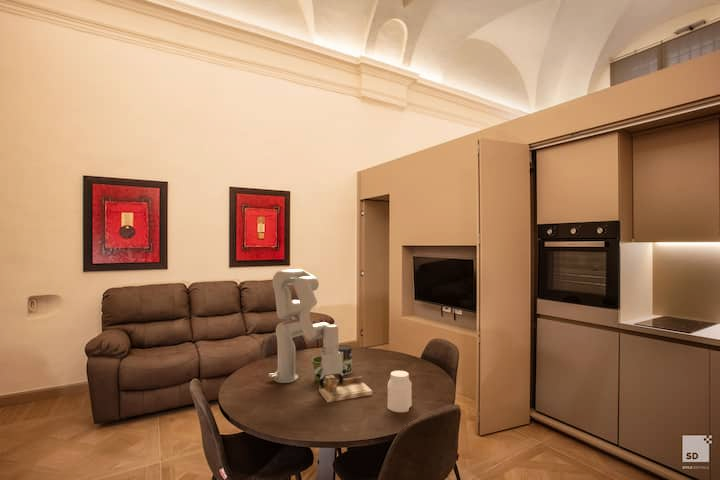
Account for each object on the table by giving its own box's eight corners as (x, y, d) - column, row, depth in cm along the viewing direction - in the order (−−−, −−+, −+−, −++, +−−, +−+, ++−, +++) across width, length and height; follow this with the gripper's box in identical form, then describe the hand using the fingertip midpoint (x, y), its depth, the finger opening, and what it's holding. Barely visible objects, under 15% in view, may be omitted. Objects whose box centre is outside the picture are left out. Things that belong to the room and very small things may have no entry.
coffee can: (352, 368, 219) (352, 344, 219) (351, 374, 209) (351, 349, 209) (335, 368, 219) (335, 344, 220) (333, 374, 209) (333, 349, 209)
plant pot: (307, 381, 199) (307, 360, 199) (319, 374, 209) (319, 354, 209) (325, 385, 193) (325, 363, 193) (337, 378, 204) (337, 357, 204)
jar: (393, 400, 174) (393, 368, 175) (413, 403, 171) (412, 370, 171) (385, 410, 164) (385, 376, 164) (406, 413, 160) (406, 379, 160)
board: (327, 402, 172) (327, 392, 172) (319, 391, 185) (319, 382, 185) (372, 394, 181) (372, 385, 181) (361, 384, 194) (361, 376, 194)
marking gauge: (331, 396, 174) (331, 383, 174) (325, 388, 184) (325, 375, 184) (339, 395, 175) (339, 382, 176) (332, 386, 186) (332, 374, 186)
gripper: (315, 354, 176) (316, 390, 175) (349, 349, 182) (350, 384, 182) (311, 350, 183) (312, 385, 182) (344, 346, 189) (345, 379, 189)
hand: (331, 384), depth 182 cm, fingers open, 9 cm apart
